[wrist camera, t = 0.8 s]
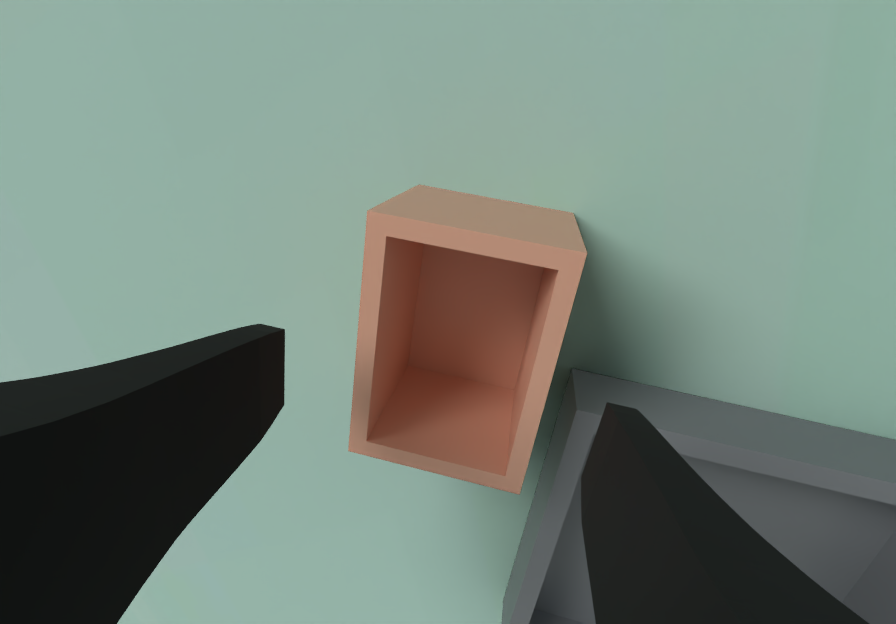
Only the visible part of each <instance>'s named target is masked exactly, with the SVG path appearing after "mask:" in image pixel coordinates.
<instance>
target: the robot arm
mask: <svg viewBox="0 0 896 624" xmlns="http://www.w3.org/2000/svg"><path fill="white" fill-rule="evenodd" d="M284 361H285V329H281V328H276V327H272V326H267V325H263V324H256V325H250V326H245V327H241V328H237V329H233V330H229V331H226V332H222V333H218V334H215V335H211V336H208V337H204V338H201V339H197V340H194V341H190V342H187V343H183V344H180V345H176V346H173V347H169V348H166V349H162V350H158V351H154V352H150V353H146V354H143V355H139V356H135V357H131V358H127V359H123V360H119V361H115V362H111V363H107V364H103V365H98V366H94V367H89V368H84V369H79V370H74V371H69V372H64V373H58V374H53V375H47V376H42V377H36V378H30V379H24V380H16V381H9V382H1V383H0V624H117V622H118V621H119V620H120V618H121V617H122V615H123V614H124V612H125V611H126V609H127V608H128V606H129V605H130V603H131V602H132V600H133V599H134V598H135V596H136V595H137V593H138V592H139V590H140V589H141V587H142V586H143V584H144V583H145V582H146V580H147V579H148V577H149V576H150V575H151V573H152V572H153V571H154V569H155V568H156V566H157V565H158V564H159V562H160V561H161V559H162V558H163V557H164V555H165V554H166V552H167V551H168V550H169V548H170V547H171V546H172V544H173V543H174V541H175V540H176V539H177V538H178V536H179V535H180V534H181V533H182V531H183V530H184V529H185V528H186V526H187V525H188V524H189V523H190V522H191V520H192V519H193V518H194V517H195V516H196V515H197V514H198V512H199V511H200V510H201V509H202V508H203V507H204V506H205V504H206V503H207V502H208V501H209V500H210V499H211V498H212V496H213V495H214V494H215V493H216V492H217V491H218V490H219V488H220V487H221V486H222V485H223V484H224V483H225V482H226V480H227V479H228V478H229V477H230V476H231V475H232V474H233V472H234V471H235V470H236V469H237V468H238V467H239V466H240V464H241V463H242V462H243V461H244V460H245V459H246V457H247V456H248V455H249V454H250V453H251V452H252V450H253V449H254V448H255V447H256V446H257V444H258V443H259V442H260V441H261V440H262V438H263V437H264V435H265V434H266V432H267V431H268V429H269V428H270V426H271V425H272V423H273V422H274V420H275V418H276V417H277V415H278V414H279V412H280V410H281V409H282V407H283V406H284ZM581 522H582V530H583V537H584V545H585V552H586V559H587V566H588V573H589V580H590V587H591V594H592V601H593V608H594V615H595V622H596V624H869V623H868V622H867V621H865V620H864V619H863V618H861V617H860V616H859V615H857V614H856V613H855V612H853V611H852V610H851V609H849V608H848V607H847V606H845V605H844V604H843V603H841V602H840V601H839V600H837V599H836V598H835V597H834V596H832V595H831V594H830V593H829V592H827V591H826V590H825V589H824V588H822V587H821V586H820V585H819V584H817V583H816V582H815V581H813V580H812V579H811V578H810V577H809V576H807V575H806V574H805V573H804V572H803V571H801V570H800V569H799V568H798V567H797V566H796V565H794V564H793V563H792V562H791V561H790V560H789V559H787V558H786V557H785V556H784V555H783V554H781V553H780V552H779V551H778V550H777V549H776V548H774V547H773V546H772V545H771V544H770V543H769V542H767V541H766V540H765V539H764V538H763V537H762V536H761V535H760V534H759V533H757V532H756V531H755V530H754V529H753V528H752V527H751V526H750V525H749V524H748V523H747V522H746V521H745V520H743V519H742V518H741V517H740V516H739V515H738V514H737V513H736V512H735V511H734V510H733V509H732V508H731V507H730V506H729V505H728V504H727V503H726V502H725V501H724V500H723V499H722V498H721V497H720V496H719V495H718V494H717V493H716V492H715V491H714V490H713V489H712V488H711V487H710V486H709V485H708V484H707V483H706V482H705V481H704V480H703V479H702V478H701V477H700V476H699V475H698V474H697V473H696V472H695V471H694V470H693V468H692V467H691V466H690V465H689V464H688V463H687V462H686V461H685V460H684V459H683V458H682V457H681V456H680V454H679V453H678V452H677V451H676V450H675V449H674V448H673V447H672V446H671V445H670V443H669V442H668V441H667V440H666V439H665V438H664V437H663V436H662V435H661V434H660V432H659V431H658V430H657V429H656V428H655V427H654V426H653V425H652V424H651V423H650V422H649V421H648V419H647V418H646V417H645V416H644V415H643V414H642V413H641V412H640V411H638V410H637V409H635V408H631V407H626V406H622V405H617V404H613V403H609V402H607V403H606V406H605V409H604V412H603V415H602V418H601V421H600V424H599V427H598V429H597V432H596V435H595V438H594V441H593V444H592V447H591V450H590V453H589V456H588V459H587V461H586V464H585V467H584V470H583V473H582V476H581Z"/></svg>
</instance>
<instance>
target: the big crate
mask: <svg viewBox="0 0 896 624" xmlns="http://www.w3.org/2000/svg"><path fill="white" fill-rule="evenodd" d="M607 402H609V403H613V404H617V405H622V406H626V407H631V408H635V409H637V410H638V411H640V412H641V413H642V414H643V415H644V416H645V417H646V418H647V419H648V421H649V422H650V423H651V424H652V425H653V426H654V427H655V428H656V429H657V430H658V431H659V432H660V434H661V435H662V436H663V437H664V438H665V439H666V440H667V441H668V442H669V443H670V445H671V446H672V447H673V448H674V449H675V450H676V451H677V452H678V453H679V454H680V456H681V457H682V458H683V459H684V460H685V461H686V462H687V463H688V464H689V465H690V466H691V467H692V468H693V470H694V471H695V472H696V473H697V474H698V475H699V476H700V477H701V478H702V479H703V480H704V481H705V482H706V483H707V484H708V485H709V486H710V487H711V488H712V489H713V490H714V491H715V492H716V493H717V494H718V495H719V496H720V497H721V498H722V499H723V500H724V501H725V502H726V503H727V504H728V505H729V506H730V507H731V508H732V509H733V510H734V511H735V512H736V513H737V514H738V515H739V516H740V517H741V518H742V519H743V520H745V521H746V522H747V523H748V524H749V525H750V526H751V527H752V528H753V529H754V530H755V531H756V532H757V533H759V534H760V535H761V536H762V537H763V538H764V539H765V540H766V541H767V542H769V543H770V544H771V545H772V546H773V547H774V548H776V549H777V550H778V551H779V552H780V553H781V554H783V555H784V556H785V557H786V558H787V559H789V560H790V561H791V562H792V563H793V564H794V565H796V566H797V567H798V568H799V569H800V570H801V571H803V572H804V573H805V574H806V575H807V576H809V577H810V578H811V579H812V580H813V581H815V582H816V583H817V584H819V585H820V586H821V587H822V588H824V589H825V590H826V591H827V592H829V593H830V594H831V595H832V596H834V597H835V598H836V599H837V600H839V601H840V602H841V603H843V604H844V605H845V606H847V607H848V608H849V609H851V610H852V611H853V612H855V613H856V614H857V615H859V616H860V617H861V618H863V619H864V620H865V621H867V622H868V623H869V624H896V440H893V439H888V438H884V437H879V436H875V435H870V434H866V433H861V432H857V431H852V430H848V429H843V428H839V427H834V426H830V425H825V424H821V423H816V422H812V421H807V420H803V419H798V418H794V417H789V416H785V415H780V414H776V413H771V412H767V411H762V410H758V409H753V408H749V407H744V406H740V405H735V404H731V403H726V402H722V401H717V400H713V399H708V398H704V397H699V396H695V395H690V394H685V393H681V392H676V391H672V390H667V389H663V388H658V387H654V386H649V385H645V384H640V383H636V382H631V381H627V380H622V379H618V378H613V377H609V376H604V375H600V374H595V373H591V372H586V371H582V370H577V369H573V368H572V370H571V373H570V377H569V380H568V383H567V387H566V390H565V394H564V397H563V400H562V404H561V407H560V410H559V414H558V417H557V421H556V424H555V427H554V431H553V434H552V437H551V441H550V444H549V447H548V451H547V454H546V458H545V461H544V464H543V468H542V471H541V474H540V478H539V481H538V485H537V488H536V491H535V495H534V498H533V501H532V505H531V508H530V511H529V515H528V518H527V522H526V525H525V528H524V532H523V535H522V538H521V542H520V545H519V548H518V552H517V555H516V559H515V562H514V565H513V569H512V572H511V575H510V579H509V582H508V586H507V589H506V592H505V596H504V600H503V612H502V624H596V622H595V615H594V608H593V601H592V594H591V587H590V580H589V573H588V566H587V559H586V552H585V545H584V537H583V530H582V522H581V476H582V473H583V470H584V467H585V464H586V461H587V459H588V456H589V453H590V450H591V447H592V444H593V441H594V438H595V435H596V432H597V429H598V427H599V424H600V421H601V418H602V415H603V412H604V409H605V406H606V403H607Z"/></svg>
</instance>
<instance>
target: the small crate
mask: <svg viewBox="0 0 896 624" xmlns="http://www.w3.org/2000/svg"><path fill="white" fill-rule="evenodd" d="M586 256H587V251H586V248H585V245H584V242H583V239H582V236H581V233H580V231H579V228H578V225H577V222H576V219H575V216H574V213H570V212H565V211H560V210H554V209H549V208H543V207H538V206H532V205H527V204H522V203H516V202H511V201H505V200H500V199H494V198H489V197H484V196H478V195H473V194H467V193H462V192H456V191H451V190H446V189H440V188H435V187H429V186H424V185H417V186H415V187H413V188H411V189H409V190H407V191H405V192H403V193H401V194H399V195H397V196H395V197H393V198H391V199H389V200H387V201H385V202H383V203H381V204H379V205H377V206H375V207H374V208H372V209H370V210H368V211H367V222H366V234H365V247H364V260H363V272H362V285H361V298H360V310H359V323H358V336H357V348H356V361H355V373H354V386H353V399H352V411H351V424H350V437H349V449H348V451H350V452H354V453H358V454H362V455H366V456H370V457H374V458H378V459H382V460H386V461H390V462H393V463H397V464H401V465H405V466H409V467H413V468H417V469H421V470H425V471H429V472H433V473H437V474H441V475H444V476H448V477H452V478H456V479H460V480H464V481H468V482H472V483H476V484H480V485H484V486H488V487H492V488H495V489H499V490H503V491H507V492H511V493H515V494H519V495H520V491H521V488H522V484H523V481H524V477H525V473H526V470H527V466H528V463H529V459H530V456H531V452H532V448H533V445H534V441H535V438H536V434H537V431H538V427H539V423H540V420H541V416H542V413H543V409H544V406H545V402H546V399H547V395H548V391H549V388H550V384H551V381H552V377H553V374H554V370H555V366H556V363H557V359H558V356H559V352H560V349H561V345H562V341H563V338H564V334H565V331H566V327H567V324H568V320H569V317H570V313H571V309H572V306H573V302H574V299H575V295H576V292H577V288H578V284H579V281H580V277H581V274H582V270H583V267H584V263H585V259H586Z"/></svg>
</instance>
